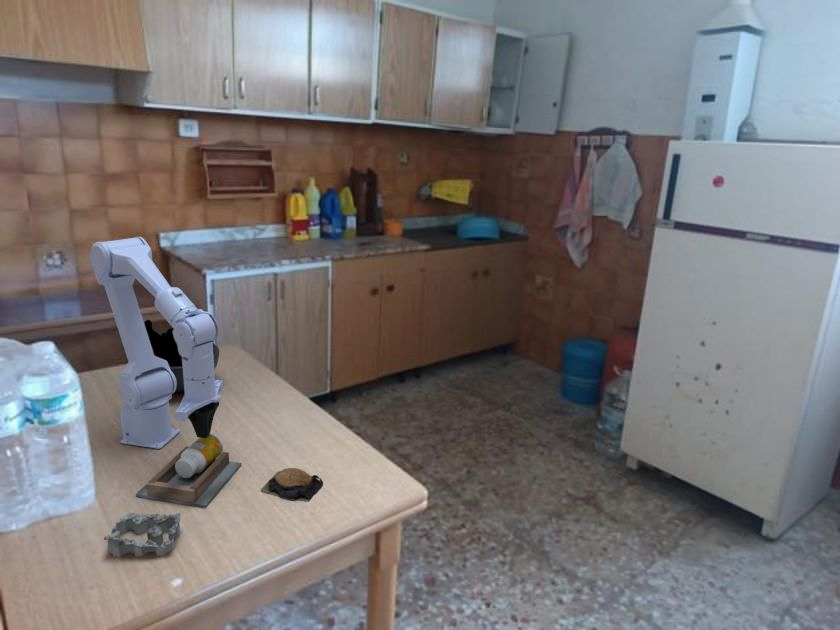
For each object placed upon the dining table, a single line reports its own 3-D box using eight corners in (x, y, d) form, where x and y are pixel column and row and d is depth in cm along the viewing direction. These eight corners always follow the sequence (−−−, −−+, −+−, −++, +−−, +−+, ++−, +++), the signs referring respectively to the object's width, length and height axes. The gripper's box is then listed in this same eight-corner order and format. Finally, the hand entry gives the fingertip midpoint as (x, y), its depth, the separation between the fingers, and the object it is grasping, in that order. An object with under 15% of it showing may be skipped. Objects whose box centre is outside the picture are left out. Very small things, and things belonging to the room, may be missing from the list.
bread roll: (257, 495, 112) (257, 479, 111) (279, 472, 120) (279, 456, 119) (307, 507, 109) (307, 490, 108) (327, 482, 117) (327, 466, 116)
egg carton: (102, 559, 94) (99, 538, 92) (122, 528, 101) (119, 508, 99) (170, 559, 94) (168, 539, 93) (185, 529, 101) (183, 509, 100)
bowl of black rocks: (236, 379, 159) (233, 314, 153) (189, 411, 140) (183, 339, 134) (173, 367, 163) (168, 304, 158) (120, 397, 145) (112, 326, 139)
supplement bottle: (223, 458, 121) (196, 484, 112) (201, 452, 122) (171, 477, 114) (224, 436, 120) (196, 460, 111) (201, 430, 121) (171, 454, 112)
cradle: (136, 496, 109) (134, 482, 108) (179, 456, 122) (177, 443, 121) (205, 508, 107) (204, 493, 106) (241, 465, 120) (240, 452, 119)
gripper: (198, 393, 105) (203, 457, 110) (235, 362, 119) (238, 421, 123) (162, 388, 106) (168, 452, 111) (203, 358, 120) (207, 417, 124)
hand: (203, 436), depth 117 cm, fingers closed
